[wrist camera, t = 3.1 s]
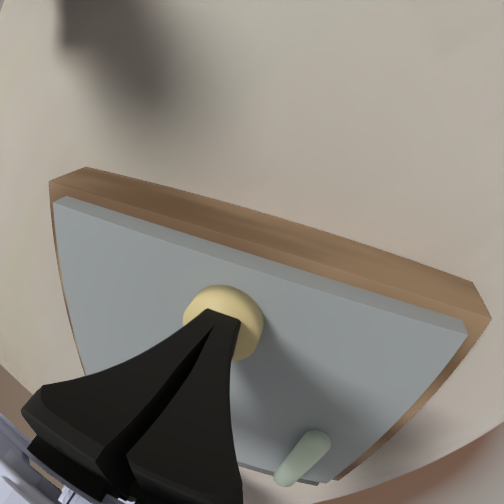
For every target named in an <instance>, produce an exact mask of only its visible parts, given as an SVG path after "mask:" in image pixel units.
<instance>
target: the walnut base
mask: <svg viewBox="0 0 504 504" xmlns="http://www.w3.org/2000/svg"><path fill="white" fill-rule="evenodd" d="M49 194H50V208H51V218H52V228H53V236H54V244H55V251H56V257H57V264H58V270H59V275H60V281H61V286H62V291H63V296H64V300H65V305H66V309H67V313H68V318H69V322H70V326H71V329H72V333H73V337H74V341H75V344H76V348H77V351H78V354H79V358H80V361H81V364H82V360H81V357H80V353H79V350H78V346H77V343H76V339H75V335H74V331H73V327H72V323H71V319H70V315H69V310H68V306H67V301H66V296H65V291H64V286H63V280H62V275H61V269H60V262H59V256H58V248H57V241H56V232H55V222H54V211H53V202H54V201H57V200H59V199H61V198H63V197H65V196H69V197H72V198H75V199H78V200H81V201H85V202H88V203H91V204H94V205H97V206H100V207H104V208H107V209H110V210H113V211H116V212H119V213H122V214H126V215H129V216H132V217H135V218H138V219H141V220H145V221H148V222H151V223H154V224H157V225H160V226H164V227H167V228H170V229H173V230H176V231H179V232H183V233H186V234H189V235H192V236H195V237H198V238H202V239H205V240H208V241H211V242H214V243H217V244H221V245H224V246H227V247H230V248H233V249H237V250H240V251H243V252H246V253H249V254H252V255H256V256H259V257H262V258H265V259H268V260H272V261H275V262H278V263H281V264H284V265H287V266H291V267H294V268H297V269H300V270H303V271H307V272H310V273H313V274H316V275H319V276H323V277H326V278H329V279H332V280H335V281H339V282H342V283H345V284H348V285H351V286H355V287H358V288H361V289H364V290H367V291H371V292H374V293H377V294H380V295H384V296H387V297H390V298H393V299H396V300H400V301H403V302H406V303H409V304H412V305H416V306H419V307H422V308H425V309H429V310H432V311H435V312H438V313H441V314H445V315H448V316H451V317H454V318H458V319H461V320H463V323H464V325H465V328H466V330H467V333H468V336H467V338H466V339H465V341H464V342H463V343H462V345H461V346H460V348H459V349H458V350H457V352H456V353H455V354H454V356H453V357H452V358H451V360H450V361H449V362H448V364H447V365H446V366H445V367H444V369H443V370H442V371H441V373H440V374H439V375H438V376H437V377H436V379H435V380H434V381H433V382H432V383H431V385H430V386H429V387H428V388H427V389H426V391H425V392H424V393H423V394H422V395H421V396H420V397H419V399H418V400H417V401H416V402H415V403H414V404H413V405H412V406H411V407H410V408H409V409H408V411H407V412H406V413H405V414H404V415H403V416H402V417H401V418H400V419H399V420H398V421H397V422H396V423H395V424H394V425H393V426H392V427H391V428H390V429H389V430H388V431H387V432H386V433H385V434H384V435H383V436H382V437H381V438H380V439H379V440H377V441H376V442H375V443H374V444H373V445H372V446H371V447H370V448H369V449H368V450H367V451H365V452H364V453H363V454H362V455H361V456H360V457H359V458H357V459H356V460H355V461H354V462H353V463H351V464H350V465H349V466H348V467H347V468H345V469H344V470H343V471H342V472H340V473H339V474H338V475H337V476H335V477H334V478H333V479H332V480H340V479H341V478H342V477H344V476H345V475H346V474H348V473H349V472H350V471H352V470H353V469H354V468H356V467H357V466H358V465H359V464H361V463H362V462H363V461H364V460H365V459H367V458H368V457H369V456H370V455H371V454H373V453H374V452H375V451H376V450H377V449H379V448H380V447H381V446H382V445H383V444H384V443H385V442H386V441H388V440H389V439H390V438H391V437H392V436H393V435H394V434H395V433H396V432H397V431H398V430H399V429H400V428H402V427H403V426H404V425H405V424H406V423H407V422H408V421H409V420H410V419H411V418H412V417H413V416H414V415H415V414H416V413H417V412H418V411H419V410H420V409H421V407H422V406H423V405H424V404H425V403H426V402H427V401H428V400H429V399H430V398H431V397H432V396H433V395H434V393H435V392H436V391H437V390H438V389H439V388H440V387H441V385H442V384H443V383H444V382H445V381H446V380H447V378H448V377H449V376H450V375H451V374H452V372H453V371H454V370H455V369H456V368H457V366H458V365H459V364H460V362H461V361H462V360H463V359H464V357H465V356H466V355H467V353H468V352H469V351H470V349H471V348H472V347H473V345H474V344H475V343H476V341H477V340H478V338H479V337H480V336H481V334H482V333H483V331H484V330H485V328H486V327H487V325H488V324H489V322H490V321H491V319H492V318H491V316H490V314H489V312H488V310H487V308H486V306H485V304H484V302H483V300H482V298H481V296H480V295H479V293H478V291H477V289H476V287H475V286H474V284H473V282H470V281H467V280H465V279H462V278H459V277H456V276H454V275H451V274H448V273H445V272H443V271H440V270H437V269H434V268H432V267H429V266H426V265H423V264H420V263H417V262H415V261H412V260H409V259H406V258H403V257H400V256H397V255H394V254H391V253H388V252H385V251H382V250H379V249H376V248H373V247H370V246H367V245H364V244H361V243H358V242H355V241H352V240H349V239H346V238H343V237H340V236H336V235H333V234H330V233H327V232H324V231H321V230H317V229H314V228H311V227H308V226H304V225H301V224H298V223H295V222H291V221H288V220H285V219H281V218H278V217H274V216H271V215H268V214H264V213H261V212H257V211H254V210H250V209H247V208H243V207H240V206H236V205H233V204H229V203H226V202H222V201H219V200H215V199H211V198H208V197H204V196H200V195H197V194H193V193H189V192H185V191H182V190H178V189H174V188H170V187H166V186H162V185H158V184H155V183H151V182H147V181H143V180H139V179H135V178H131V177H126V176H122V175H118V174H114V173H110V172H106V171H101V170H97V169H93V168H88V167H84V168H81V169H79V170H76V171H73V172H71V173H68V174H66V175H63V176H61V177H58V178H56V179H53V180H51V181H49ZM82 367H83V364H82ZM83 370H84V367H83ZM84 373H85V370H84ZM85 376H86V373H85Z"/></svg>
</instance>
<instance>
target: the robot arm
mask: <svg viewBox="0 0 504 504" xmlns="http://www.w3.org/2000/svg"><path fill="white" fill-rule="evenodd" d="M240 326H241V321H240V320H239V319H237V318H234V317H231V316H228V315H225V314H223V313H220V312H217V311H214V310H211V309H209V308H207V309H205V310H203V311H202V312H201V313H200V314H199V315H197V316H196V317H195V318H194V319H192V320H191V321H190V322H189V323H187V324H186V325H185V326H183V327H182V328H180V329H179V330H178V331H176V332H175V333H173V334H172V335H170V336H169V337H168V338H166V339H164V340H163V341H161V342H160V343H158V344H156V345H155V346H153V347H151V348H150V349H148V350H146V351H144V352H143V353H141V354H139V355H137V356H135V357H133V358H131V359H129V360H127V361H125V362H122V363H120V364H118V365H115V366H113V367H110V368H108V369H105V370H103V371H100V372H97V373H94V374H90V375H87V376H84V377H80V378H77V379H73V380H68V381H63V382H58V383H53V384H47V385H43V386H42V387H41V388H40V389H39V390H37V391H36V392H35V394H34V395H33V396H32V397H31V398H30V399H29V401H28V402H27V403H26V404H25V406H23V408H22V409H21V413H22V416H23V417H24V418H25V420H26V421H27V422H28V424H29V425H30V426H31V428H32V429H33V430H34V431H35V432H36V434H37V436H36V437H35V438H34V440H33V441H31V440H30V439H29V438H28V437H27V436H25V435H24V434H23V433H22V432H21V431H20V430H19V429H17V428H16V427H15V426H14V425H13V424H12V423H11V422H10V421H9V420H8V419H7V418H6V417H5V416H3V415H2V414H1V413H0V504H243V491H242V480H241V476H240V472H239V468H238V463H237V458H236V453H235V447H234V440H233V432H232V424H231V411H230V371H231V360H232V358H233V355H234V351H235V347H236V342H237V338H238V334H239V330H240ZM28 457H29V458H30V459H31V460H32V461H33V462H35V463H36V464H37V465H38V466H39V467H41V468H42V469H43V470H45V471H46V472H47V473H49V474H50V475H51V476H52V477H54V478H55V479H56V480H58V481H59V482H61V483H62V484H63V485H65V486H64V487H63V489H62V490H60V489H59V488H57V487H56V486H55V485H54V484H52V483H51V482H50V481H48V480H47V479H46V478H45V477H44V476H42V475H41V474H40V473H39V472H38V471H36V470H35V469H34V468H33V467H32V466H30V464H29V458H28Z"/></svg>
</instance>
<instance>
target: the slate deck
mask: <svg viewBox="0 0 504 504" xmlns="http://www.w3.org/2000/svg"><path fill="white" fill-rule="evenodd" d="M53 211H54V222H55V232H56V241H57V248H58V256H59V262H60V269H61V275H62V280H63V286H64V291H65V296H66V301H67V306H68V310H69V315H70V319H71V323H72V327H73V331H74V335H75V339H76V343H77V346H78V350H79V353H80V357H81V360H82V364H83V367H84V370H85V373H86V376H87V375H90V374H94V373H97V372H100V371H103V370H105V369H108V368H110V367H113V366H115V365H118V364H120V363H122V362H125V361H127V360H129V359H131V358H133V357H135V356H137V355H139V354H141V353H143V352H144V351H146V350H148V349H150V348H151V347H153V346H155V345H156V344H158V343H160V342H161V341H163V340H164V339H166V338H168V337H169V336H170V335H172V334H173V333H175V332H176V331H178V330H179V329H180V328H182V327H183V326H185V325H186V324H187V323H189V322H190V321H191V320H192V319H194V318H195V317H196V316H197V315H199V314H200V313H201V312H202V311H203V310H205V309H207V308H209V309H211V310H214V311H217V312H220V313H223V314H225V315H228V316H231V317H234V318H237V319H239V320H240V321H241V326H240V330H239V334H238V338H237V342H236V347H235V351H234V355H233V358H232V360H231V371H230V411H231V424H232V432H233V440H234V447H235V453H236V458H237V463H238V466H241V467H244V468H247V469H251V470H254V471H257V472H261V473H265V474H268V475H272V476H273V478H274V481H275V482H276V483H277V484H278V485H279V486H282V487H289V486H291V485H293V484H294V483H295V482H301V483H306V484H311V485H316V486H317V485H318V484H319V482H321V483H328V482H329V481H330V480H332V479H333V478H334V477H335V476H337V475H338V474H339V473H340V472H342V471H343V470H344V469H345V468H347V467H348V466H349V465H350V464H351V463H353V462H354V461H355V460H356V459H357V458H359V457H360V456H361V455H362V454H363V453H364V452H365V451H367V450H368V449H369V448H370V447H371V446H372V445H373V444H374V443H375V442H376V441H377V440H379V439H380V438H381V437H382V436H383V435H384V434H385V433H386V432H387V431H388V430H389V429H390V428H391V427H392V426H393V425H394V424H395V423H396V422H397V421H398V420H399V419H400V418H401V417H402V416H403V415H404V414H405V413H406V412H407V411H408V409H409V408H410V407H411V406H412V405H413V404H414V403H415V402H416V401H417V400H418V399H419V397H420V396H421V395H422V394H423V393H424V392H425V391H426V389H427V388H428V387H429V386H430V385H431V383H432V382H433V381H434V380H435V379H436V377H437V376H438V375H439V374H440V373H441V371H442V370H443V369H444V367H445V366H446V365H447V364H448V362H449V361H450V360H451V358H452V357H453V356H454V354H455V353H456V352H457V350H458V349H459V348H460V346H461V345H462V343H463V342H464V341H465V339H466V338H467V336H468V333H467V330H466V328H465V325H464V323H463V320H461V319H458V318H454V317H451V316H448V315H445V314H441V313H438V312H435V311H432V310H429V309H425V308H422V307H419V306H416V305H412V304H409V303H406V302H403V301H400V300H396V299H393V298H390V297H387V296H384V295H380V294H377V293H374V292H371V291H367V290H364V289H361V288H358V287H355V286H351V285H348V284H345V283H342V282H339V281H335V280H332V279H329V278H326V277H323V276H319V275H316V274H313V273H310V272H307V271H303V270H300V269H297V268H294V267H291V266H287V265H284V264H281V263H278V262H275V261H272V260H268V259H265V258H262V257H259V256H256V255H252V254H249V253H246V252H243V251H240V250H237V249H233V248H230V247H227V246H224V245H221V244H217V243H214V242H211V241H208V240H205V239H202V238H198V237H195V236H192V235H189V234H186V233H183V232H179V231H176V230H173V229H170V228H167V227H164V226H160V225H157V224H154V223H151V222H148V221H145V220H141V219H138V218H135V217H132V216H129V215H126V214H122V213H119V212H116V211H113V210H110V209H107V208H104V207H100V206H97V205H94V204H91V203H88V202H85V201H81V200H78V199H75V198H72V197H69V196H65V197H63V198H61V199H59V200H57V201H54V202H53Z"/></svg>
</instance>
